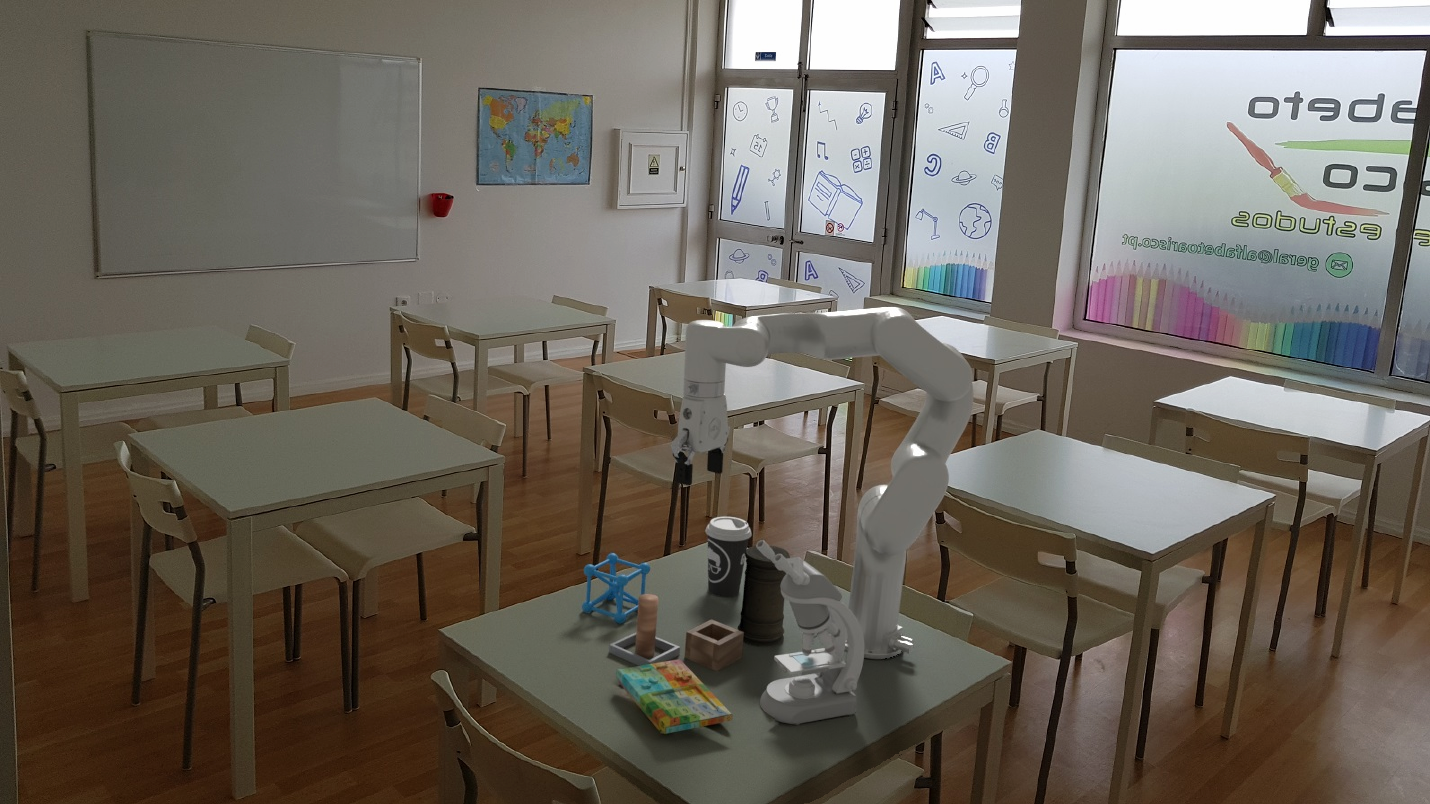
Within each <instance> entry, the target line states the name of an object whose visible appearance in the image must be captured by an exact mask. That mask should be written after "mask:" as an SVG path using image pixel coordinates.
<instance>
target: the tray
mask: <svg viewBox="0 0 1430 804" xmlns="http://www.w3.org/2000/svg"><path fill="white" fill-rule="evenodd" d="M633 644H636V632H634V633H632V634H630V635H626V636H624V637H622V638H621V639H618V640H616V641H615V642H612V643H610V644H609V647H608V649H609V650H608V653H609V654H611V655H613V656H616V657H618V658H620V659H622V660H625V661H627V662H630V663H631V664H634V665H636V666H642V665H648V664H654V663H660V662H666V661H671V660H673V659H674V658H676V657H678V656H680V653H681V647H680V646H679V645H677V644H674V643H672V642H670V641H667V640H664V639H663V638H660V637H657V636H656V638H655V648H658V649H661V650H663V651H664V652H663V653H661V654H658V655H657V656H655V657H654V656H653V658H652V657H651V659H649V658H643V657H641V656H639V655H637V654H635V652H631V651H630V650H627V649H624V648H626V647H628V646H630V645H633Z"/></svg>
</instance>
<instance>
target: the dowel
mask: <svg viewBox="0 0 1430 804" xmlns="http://www.w3.org/2000/svg"><path fill="white" fill-rule="evenodd" d="M638 600H639V602H638V609H637V618H636V619H637V621H636V642H635V647H634V654H637V655H639V656H641V657H643V658H646V659H650V658H652V657H653V658H654V655H655V653H656V652H655V651H656V650H655V649H656V646H655V638H656V637H657V636H656V635H657V624H658V623H657V621H658V610H659V608H658V607H659V596H657V595H655V594H651V593H645V594H643V595H641V594H640V595H639V596H638Z"/></svg>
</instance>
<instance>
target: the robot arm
mask: <svg viewBox="0 0 1430 804" xmlns="http://www.w3.org/2000/svg"><path fill="white" fill-rule="evenodd" d="M684 342H685V345H684V365H683V367H684V370H683V390H682V392H683V394H682V396H683V397H682V400H681V405H680V409H679V410H680V411H679V420H678V426H677V427H678V428H677V429H678V430H677V431H678V432H677V435H676V437H675V438H674V439H673V440H672V442H671V443H670V448H671V451H672V457H674V461H675V463H676V474H675V476H676V478H675V481H676V483H677V484H682V485H685V486H691V485H692V484H693V471H694V469H693V466H694V465H693V464H692V461H693V459H694V457H695V454H704V453H707V460H706V461H707V463H706V470H707V471H708V472H710V473H715V474H718V475H720V474H723V467H724V454H725V452H726V445H727V443H728V441H729V435H730V432H731V428H732V427H731V426H730V425H728V423H729V422H728V419H729V418H728V403H727V397H726V394H725V384H726V383H725V382H726V371H727V370H726V369H727V368H726V366H727V365H734V366H737V367H743V368H752V367H757V366H759V365H760V364H761V363H763V362H764V361H765V360H766V358H767V356H768V355H775V354H790V353H791V354H805V355H808V356H811V357H815V358H818V359H821V360H827V361H828V360H829V361H831V360H832V361H833V360H842V359H851V358H862V357H864V358H865V357H876V356H877V357H878V356H879V357H880V358H882V359H883V360H885V362H887V363H888V364H889V365H890V366H892V367H893V368H894V369H895V370H896V371H898V372H899V373H900V374H902V376H904V377H906V378H907V379H908V381H910V382H912V383H913V384H915V385H916V386H917V387H918V388H920V389H921V390H922V391H924V392H925V393H926V394H925V395H926V397H925V400H924V404H923V406H922V408H921V410H920V412H919V414H918V416H917V417H916V419H915V421H914V422H913V424H912V426H911V427H910V428H909V431H908V432H907V434H906V435H905V437H904V438H903V440H902V442H901V443H900V445H898V447H897V449H895V451H894V454H893V455H892V457H891V460H890V470H891V475H892V478H891V480H890V481H889V483H888V484H879V485H878V484H877V485H875V486H873V487H871V488H869V489H868V490H866V492H865V493H864V494H863V496H862V497H861V499H860V501H859V504H858V507H857V520H856V536H855V537H856V538H855V548H854V557H853V558H854V559H853V565H852V567H853V568H852V576H851V583H850V593H849V602H848V608H849V609H850V610H851V611H852V613H853V614H854V616H855V617H856V619H857V621H858V623H859V625H860V627H861V630H862V633H863V638H864V658H865V659H871V660H884V659H885V658H887V659H891V658H890V657H892V658H894V657H893V656H895V655H897V654H899V655H900V654H902V652H903V653H906V654H909V655H911V654H912V653H913V651H914V649H915V645H914V642H915V640H914V639H913V638H911V637H907V636H904V635H903V633H902V632H903V626H901V625H899V615H900V609H901V607H900V606H901V599H902V592H903V582H904V574H905V568H906V561H907V550H908V549H909V548H910V547H911V546H912V545H913V544H914V543H915V542H916V540H917V539H918V537H919V536H920V534H921V533H922V532H923V530H924V528H925V527H926V525H927V524H928V522H929V521H930V519H932V516H933V514H934V513H935V511H936V509H938V507H939V506H940V503H941V502H942V500H943V498H944V497H945V495H946V492H947V490H948V486H949V479H950V474H949V470H948V467H947V465H946V464H947V461H948V459H949V457H950V455H951V454H952V452H953V451H954V449H955V447H956V445H957V443H958V442H959V440H960V438H961V437H962V435H963V434H964V431H965V430H966V428H967V425H968V424H969V421H970V418H971V415H972V413H973V406H974V386H973V385H974V384H973V380H974V374H973V370H972V367H971V365H970V364H969V362H968V360H966V359H965V357H964V356H963V354H962V353H961V351H959V349H957V348H956V347H955V346H953V345H951V344H949V343H945V342H941V341H940V340H939V339H937V338H936V337H935V336H934V335H933V334H931V333H930V332H929V331H927V330H926V329H925V328H924V327H922V325H920V324H919V323H918V322H917V321H916V320H915V318H914V317H913V316H912V314H911V313H909V312H908V311H907V310H906V309H903V308H901V307H896V306H888V307H886V306H884V307H873V308H864V309H863V308H862V309H853V310H844V311H843V310H842V311H829V312H805V313H804V312H803V313H801V312H798V313H796V312H795V313H794V312H793V313H792V312H791V313H777V314H766V315H754V316H748V317H744V318H741V319H739V320H737V321H735V323H734V324H733V325H732V326H727V325H725V324H724V323H723V322H721V321H717V320H712V319H711V320H709V319H697V320H693V321H690V322H689V323H688V324H687V326H686V329H685V341H684ZM685 453H688V454H687V455H686V454H685ZM848 650H849V637H848V633H847V630H846V644H845V650H844V652H847V653H848ZM901 651H902V652H901ZM897 656H898V655H897ZM895 657H896V656H895ZM885 660H886V659H885Z"/></svg>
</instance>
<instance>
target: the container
mask: <svg viewBox="0 0 1430 804" xmlns="http://www.w3.org/2000/svg"><path fill="white" fill-rule="evenodd" d="M768 545H769V544H768ZM769 546H770V547H771V549H772V550H773V552H774V553H775V555H777V554H782V555H783V556H784V557H785V558H786V559H787V558H791V555H790V553H789V551H787V549H784V548H782V547H779V546H775V545H769ZM745 563H746V566H745V571H744V582H743V595H742V603H741V604H742V605H741V611H740V622H739V624H738V626H737V630H739V631H742V632H744V636H743V644H746V645H748V646H753V647H758V648H759V647H760V648H767V647H768V648H770V647H775V646H778V645H780V644H782V643H783V642H784V639H785V635H784V634H785V629H784V626H783V625H784V619H785V615H784V611H785V610H784V609H785V600H786V599H785V598H784V597H783V596H782V593H781V588H780V585H781V582H782V580H783V578H784V577H785V575H786V574H787V573H785V571H783V570H778V569H777V568H776V567H775V564H774V563H773V562H772V561H771V560H770V559H768V558H767V557H765V556H764V555H763V554H762V553H761V552H760V551H759V550H758V549H757V548H756V545H753V546H750V547H747V550H746V552H745Z"/></svg>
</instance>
